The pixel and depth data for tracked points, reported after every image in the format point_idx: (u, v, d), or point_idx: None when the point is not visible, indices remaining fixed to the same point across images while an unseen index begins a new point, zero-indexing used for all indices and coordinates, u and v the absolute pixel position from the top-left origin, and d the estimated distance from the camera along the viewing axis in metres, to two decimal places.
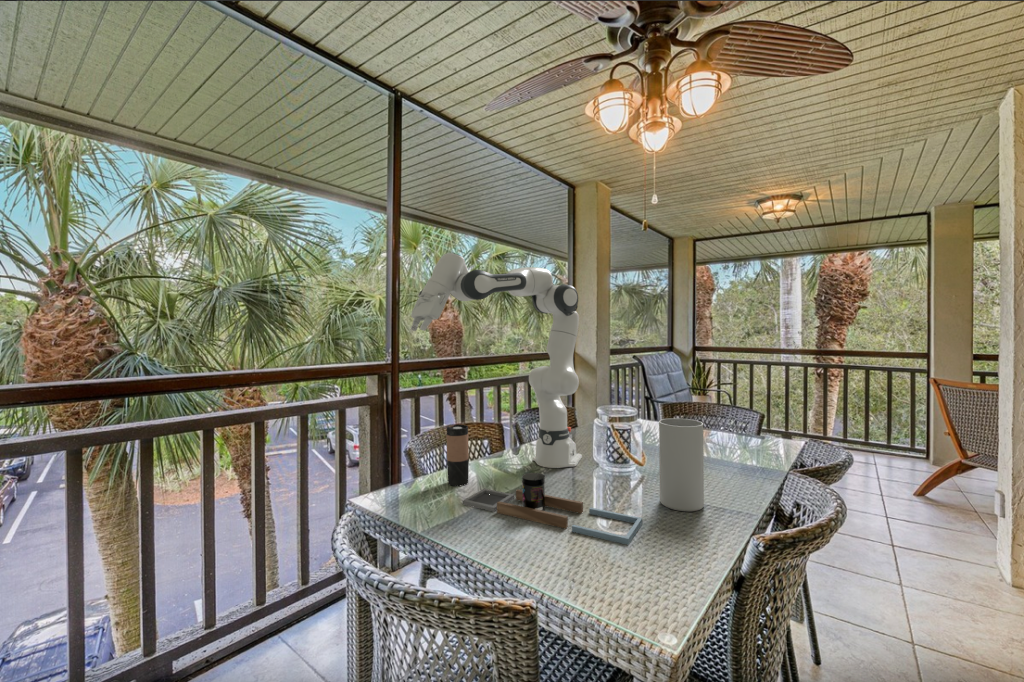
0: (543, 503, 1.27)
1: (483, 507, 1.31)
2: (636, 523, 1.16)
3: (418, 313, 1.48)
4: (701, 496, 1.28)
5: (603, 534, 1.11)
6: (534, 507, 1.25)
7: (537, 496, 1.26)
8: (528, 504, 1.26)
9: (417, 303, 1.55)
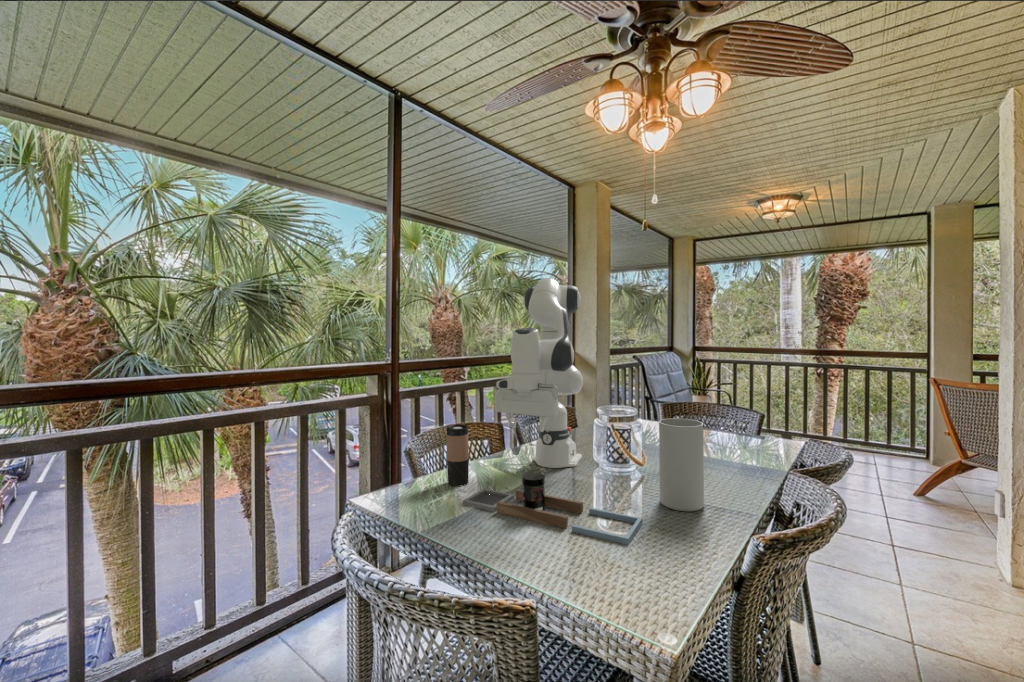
0: (543, 503, 1.27)
1: (483, 507, 1.31)
2: (636, 523, 1.16)
3: (520, 411, 1.27)
4: (701, 496, 1.28)
5: (603, 534, 1.11)
6: (534, 507, 1.25)
7: (537, 496, 1.26)
8: (528, 504, 1.26)
9: (499, 395, 1.31)
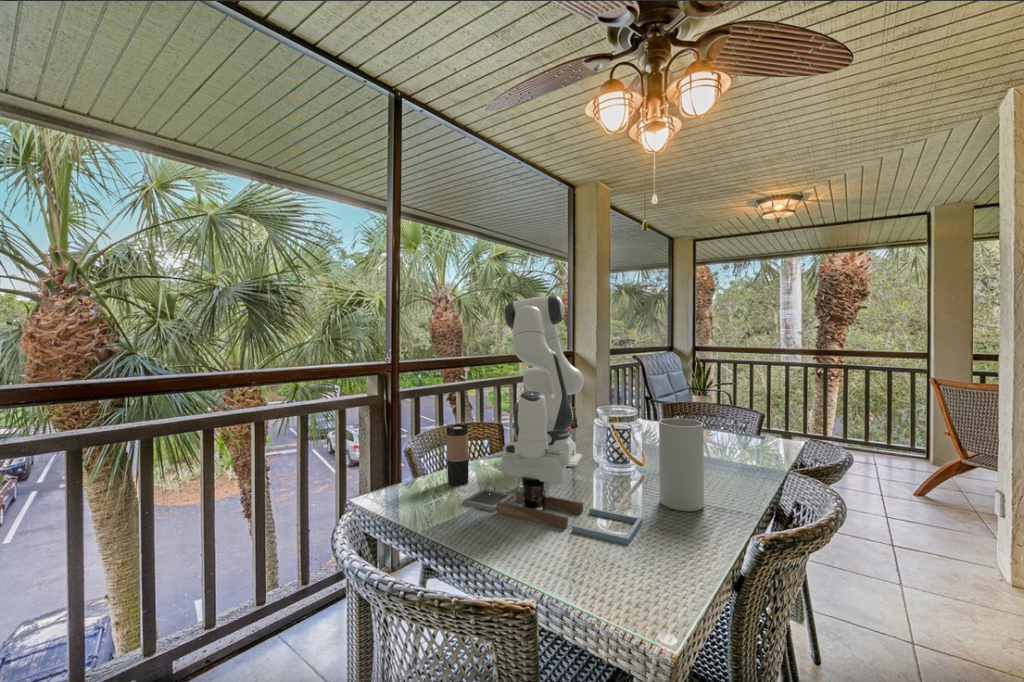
0: (543, 503, 1.27)
1: (483, 507, 1.31)
2: (636, 523, 1.16)
3: (527, 477, 1.28)
4: (701, 496, 1.28)
5: (603, 534, 1.11)
6: (534, 507, 1.26)
7: (537, 496, 1.26)
8: (528, 504, 1.26)
9: (506, 459, 1.31)
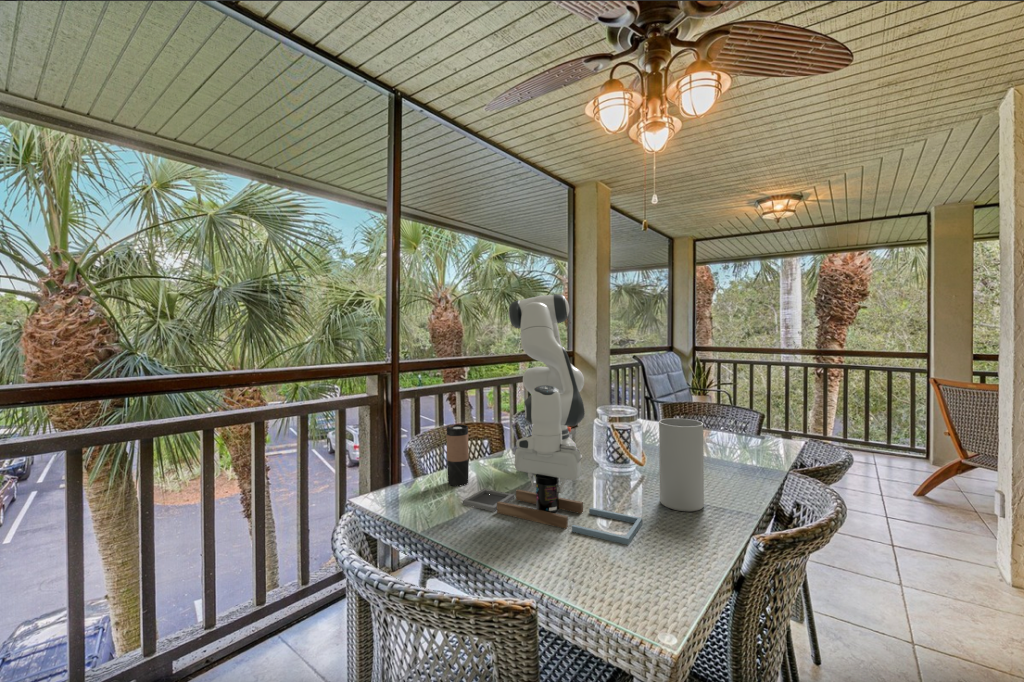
0: (557, 503, 1.24)
1: (483, 507, 1.31)
2: (636, 523, 1.16)
3: (541, 472, 1.25)
4: (701, 496, 1.28)
5: (603, 534, 1.11)
6: (548, 507, 1.23)
7: (551, 495, 1.23)
8: (541, 504, 1.24)
9: (520, 454, 1.28)
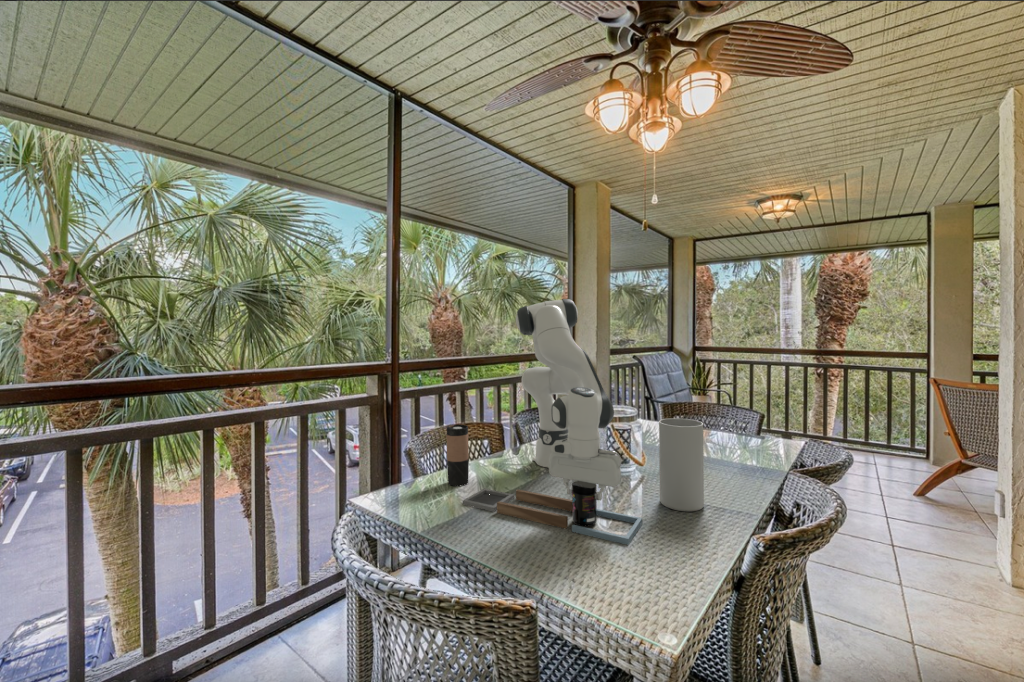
0: (595, 513, 1.19)
1: (483, 507, 1.31)
2: (636, 523, 1.16)
3: (578, 478, 1.19)
4: (701, 496, 1.28)
5: (603, 534, 1.11)
6: (586, 518, 1.17)
7: (589, 506, 1.17)
8: (579, 514, 1.18)
9: (554, 459, 1.23)
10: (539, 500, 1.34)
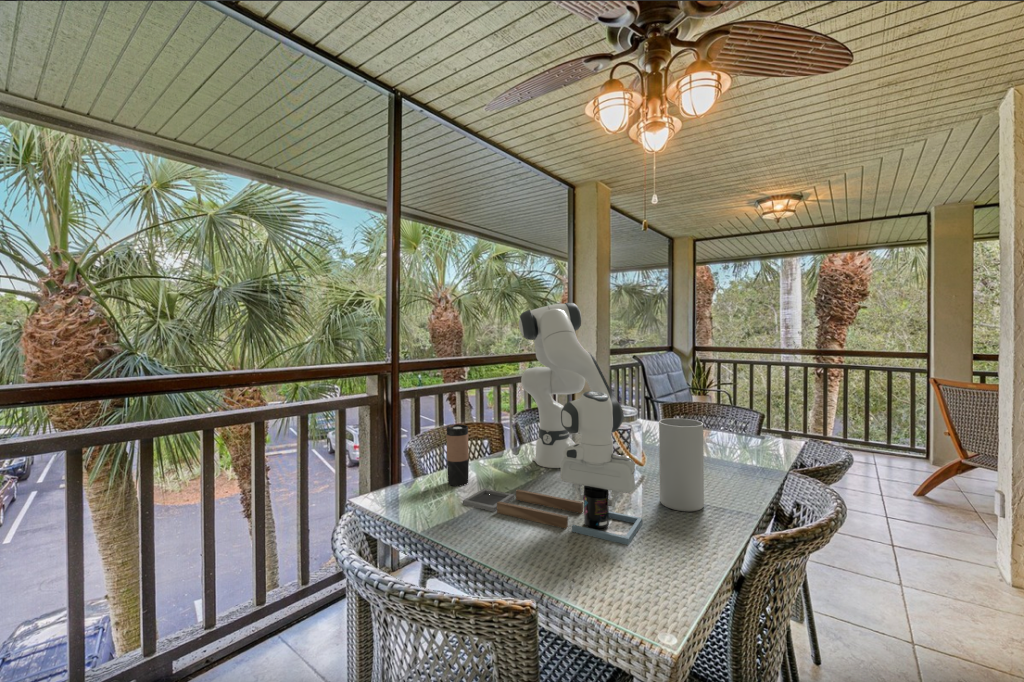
0: (607, 517, 1.17)
1: (483, 507, 1.31)
2: (636, 523, 1.16)
3: (590, 484, 1.17)
4: (701, 496, 1.28)
5: (603, 534, 1.11)
6: (598, 521, 1.15)
7: (601, 509, 1.16)
8: (591, 518, 1.16)
9: (566, 464, 1.21)
10: (539, 500, 1.34)
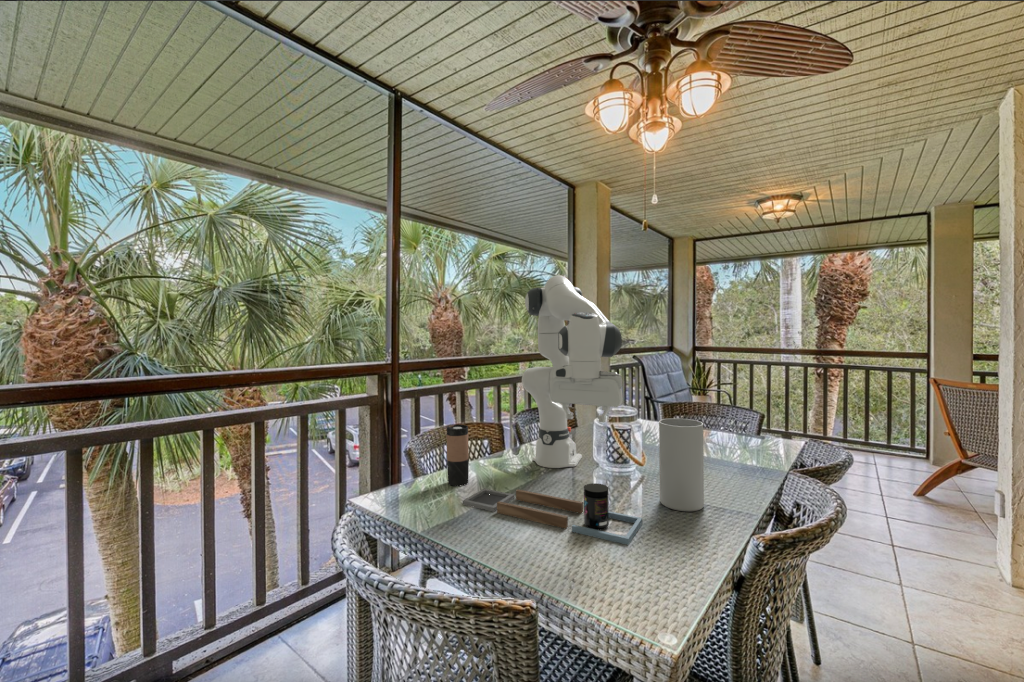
0: (607, 517, 1.17)
1: (483, 507, 1.31)
2: (636, 523, 1.16)
3: (579, 401, 1.20)
4: (701, 496, 1.28)
5: (603, 534, 1.11)
6: (598, 521, 1.15)
7: (601, 509, 1.16)
8: (591, 518, 1.16)
9: (556, 385, 1.23)
10: (539, 500, 1.34)
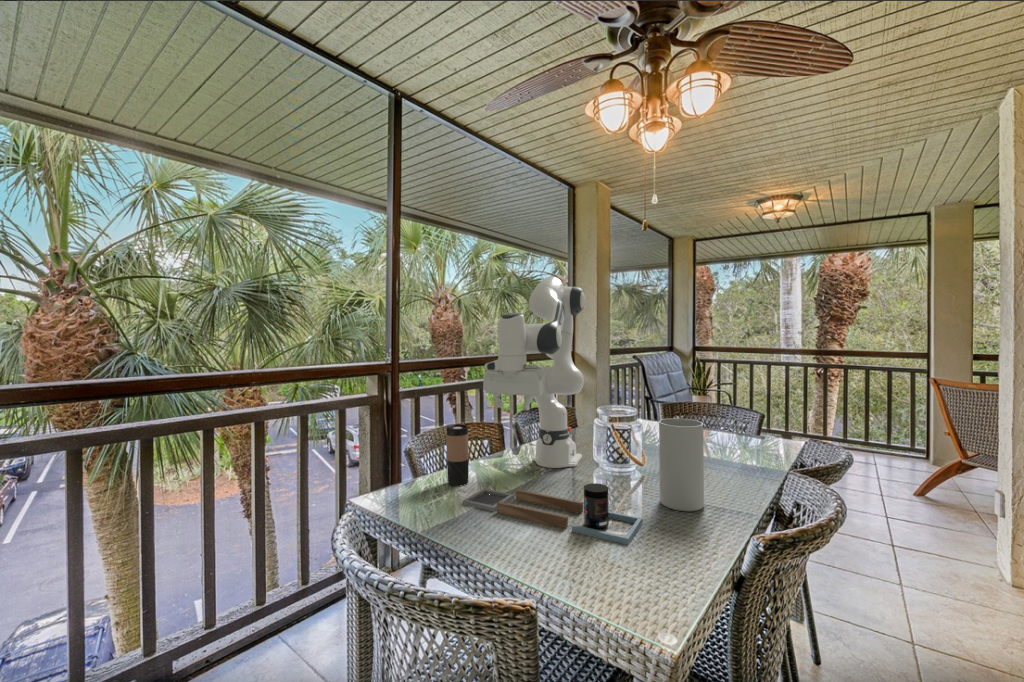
0: (607, 517, 1.17)
1: (483, 507, 1.31)
2: (636, 523, 1.16)
3: (507, 392, 1.35)
4: (701, 496, 1.28)
5: (603, 534, 1.11)
6: (598, 521, 1.15)
7: (601, 509, 1.16)
8: (591, 518, 1.16)
9: (488, 377, 1.38)
10: (539, 500, 1.34)
